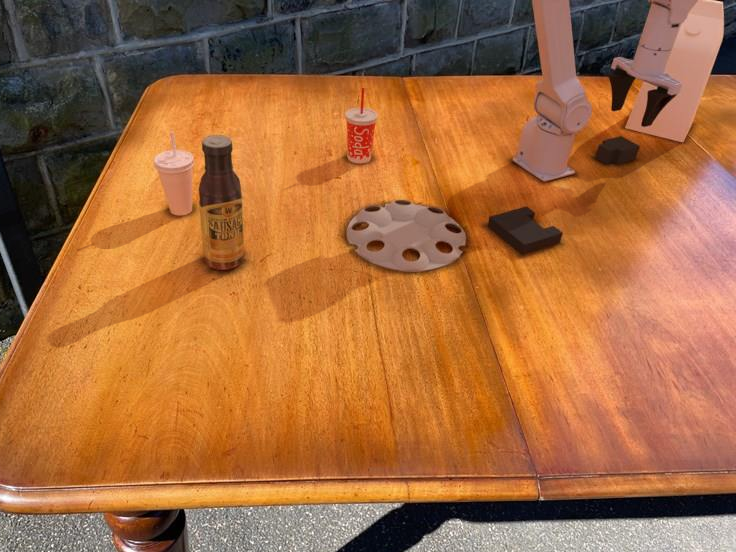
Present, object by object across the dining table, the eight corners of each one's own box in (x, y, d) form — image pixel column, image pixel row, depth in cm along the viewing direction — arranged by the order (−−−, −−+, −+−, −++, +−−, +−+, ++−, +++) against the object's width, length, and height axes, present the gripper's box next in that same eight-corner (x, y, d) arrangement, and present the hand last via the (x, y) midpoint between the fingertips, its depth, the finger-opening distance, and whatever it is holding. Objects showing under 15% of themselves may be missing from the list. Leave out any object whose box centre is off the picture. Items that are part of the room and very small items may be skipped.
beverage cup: (338, 161, 123) (341, 91, 114) (350, 148, 128) (353, 79, 119) (368, 167, 122) (373, 97, 113) (378, 154, 126) (384, 85, 117)
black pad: (487, 226, 107) (489, 216, 106) (524, 215, 110) (526, 205, 109) (521, 255, 101) (524, 244, 100) (559, 242, 104) (563, 232, 103)
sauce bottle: (212, 277, 95) (197, 155, 82) (199, 254, 99) (182, 136, 86) (253, 265, 97) (244, 146, 84) (238, 244, 101) (228, 127, 88)
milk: (692, 123, 142) (743, -1, 125) (683, 142, 134) (736, 12, 117) (636, 110, 146) (678, -12, 130) (624, 128, 139) (668, 1, 122)
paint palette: (400, 192, 115) (401, 182, 114) (489, 237, 105) (491, 227, 103) (321, 233, 104) (322, 223, 103) (412, 288, 94) (414, 277, 93)
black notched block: (590, 156, 128) (594, 142, 126) (616, 149, 131) (621, 135, 129) (609, 166, 125) (613, 153, 123) (635, 159, 127) (640, 146, 125)
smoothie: (207, 205, 110) (198, 129, 101) (185, 223, 105) (174, 146, 96) (176, 196, 112) (165, 121, 103) (154, 214, 107) (140, 137, 98)
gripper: (704, 55, 111) (675, 128, 119) (640, 31, 120) (617, 100, 129) (676, 61, 108) (649, 135, 117) (612, 35, 118) (591, 105, 127)
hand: (630, 117), depth 123 cm, fingers open, 7 cm apart
